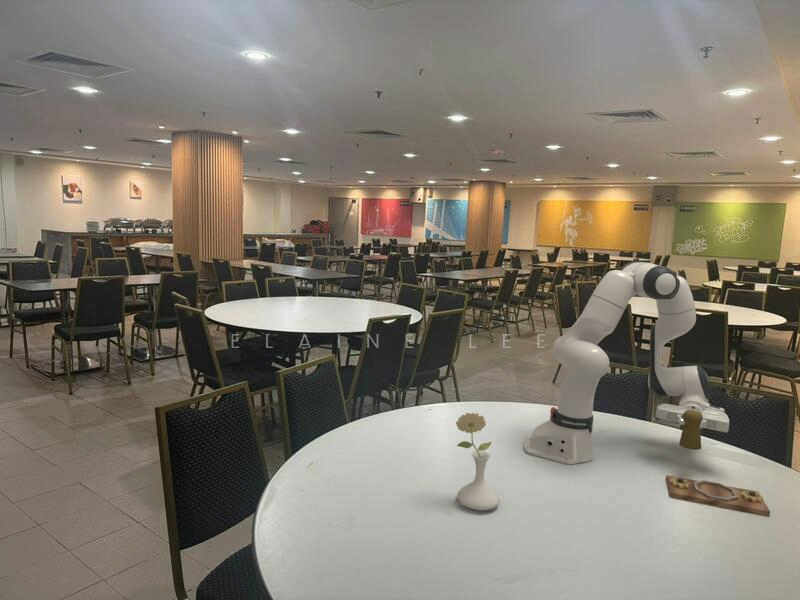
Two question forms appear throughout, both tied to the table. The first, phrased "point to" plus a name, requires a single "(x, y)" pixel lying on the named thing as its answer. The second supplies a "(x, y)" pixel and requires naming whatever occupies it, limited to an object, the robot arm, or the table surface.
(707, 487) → the gear board
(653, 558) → the table surface
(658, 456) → the table surface
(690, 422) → the cork
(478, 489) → the flower in vase
